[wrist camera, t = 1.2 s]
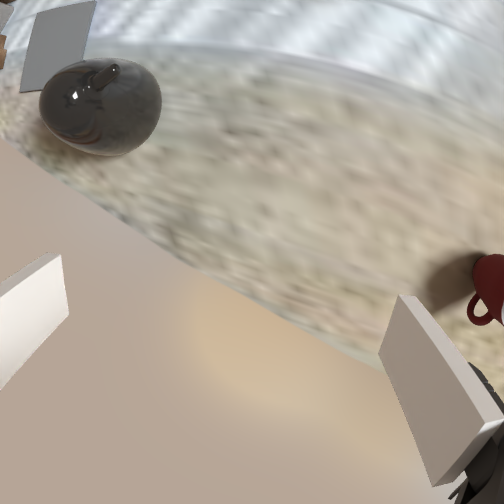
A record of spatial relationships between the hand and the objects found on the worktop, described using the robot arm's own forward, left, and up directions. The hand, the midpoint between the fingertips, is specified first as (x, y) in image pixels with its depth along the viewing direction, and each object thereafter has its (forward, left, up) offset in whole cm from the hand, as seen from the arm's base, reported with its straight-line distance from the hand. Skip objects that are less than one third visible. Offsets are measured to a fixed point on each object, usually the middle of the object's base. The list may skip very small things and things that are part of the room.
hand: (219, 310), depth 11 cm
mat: (-17, -28, -25) cm, 41 cm away
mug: (+5, +33, -25) cm, 42 cm away
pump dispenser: (-8, -15, -25) cm, 30 cm away
